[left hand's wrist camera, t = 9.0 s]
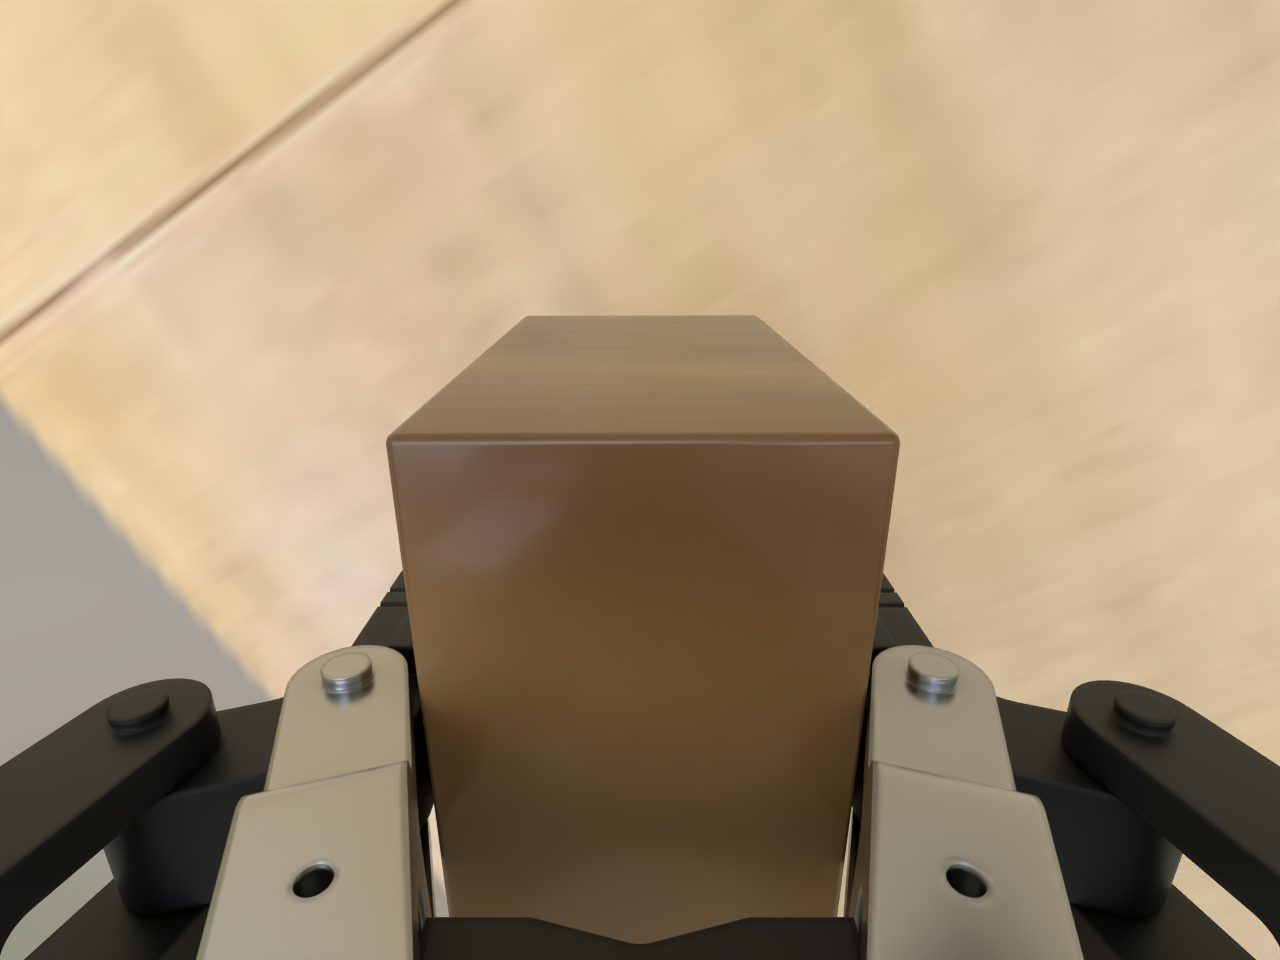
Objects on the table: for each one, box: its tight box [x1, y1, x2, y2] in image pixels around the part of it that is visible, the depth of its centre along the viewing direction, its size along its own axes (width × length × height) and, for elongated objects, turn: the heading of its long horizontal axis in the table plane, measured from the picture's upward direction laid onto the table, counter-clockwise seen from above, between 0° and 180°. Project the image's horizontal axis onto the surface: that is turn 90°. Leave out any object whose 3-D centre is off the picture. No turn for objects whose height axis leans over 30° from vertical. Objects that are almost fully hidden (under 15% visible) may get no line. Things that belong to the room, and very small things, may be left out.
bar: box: [386, 316, 900, 944], centre depth 14 cm, size 23×5×8 cm, turn 0°
